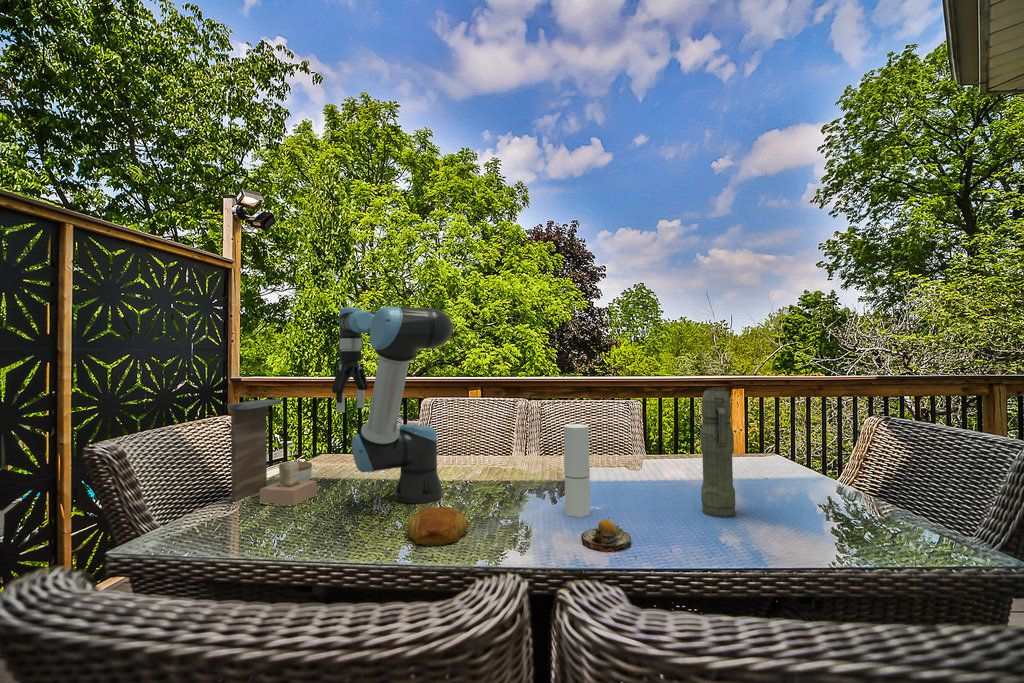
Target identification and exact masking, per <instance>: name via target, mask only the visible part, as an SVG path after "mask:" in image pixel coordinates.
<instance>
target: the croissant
mask: <svg viewBox="0 0 1024 683" xmlns="http://www.w3.org/2000/svg"><path fill="white" fill-rule="evenodd" d="M469 525H470V522H469V520H468V519H467V518H466V517H465V516H464V515H463V514H462V513H460V512H459V511H457V509H454V508H451V507H449V506H438V507H437V506H435V507H424V508H421V509H420V510H419V511H418V513H416V514H415V515H414V516H413V517H411V518H410V519H409V520H408V521H407V525H406V526H407V527H406V530H407V531H406V532H407V536H408V538H409V539H411V540H413V541H414V542H415V544H416V545H423V546H442V545H443V546H444V545H447V544H451V543H457V542H459V541H460V538H462V537H463V536H464V535H465V534H466V532H467V530H468V529H469Z"/></svg>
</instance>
